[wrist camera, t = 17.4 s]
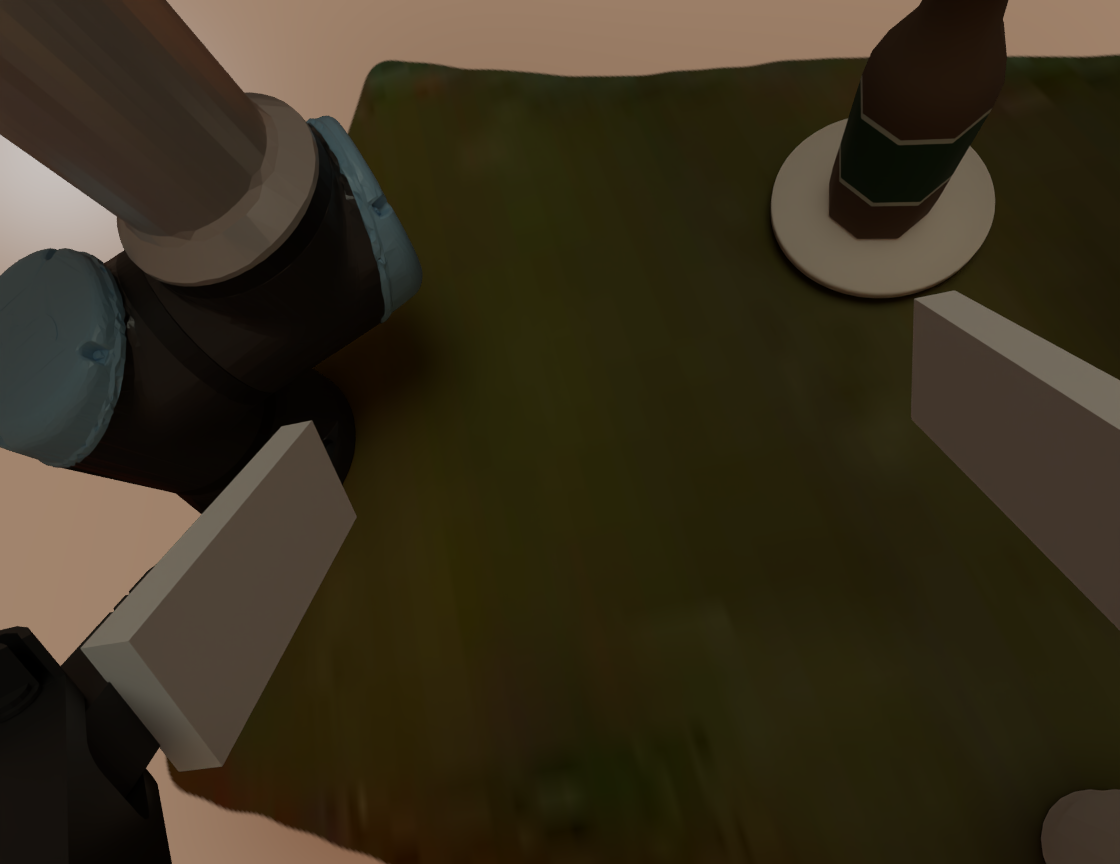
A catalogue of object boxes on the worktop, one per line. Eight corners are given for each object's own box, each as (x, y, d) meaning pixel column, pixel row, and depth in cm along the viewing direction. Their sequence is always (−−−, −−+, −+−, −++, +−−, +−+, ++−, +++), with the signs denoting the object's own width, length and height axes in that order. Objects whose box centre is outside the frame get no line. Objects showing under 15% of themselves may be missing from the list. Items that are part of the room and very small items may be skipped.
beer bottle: (806, 225, 50) (903, -100, 27) (846, 147, 51) (971, -226, 29) (907, 259, 48) (1103, -66, 25) (947, 176, 49) (1168, -205, 26)
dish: (727, 213, 54) (729, 198, 52) (874, 98, 54) (881, 80, 52) (870, 343, 49) (877, 332, 47) (1031, 215, 49) (1045, 199, 47)
